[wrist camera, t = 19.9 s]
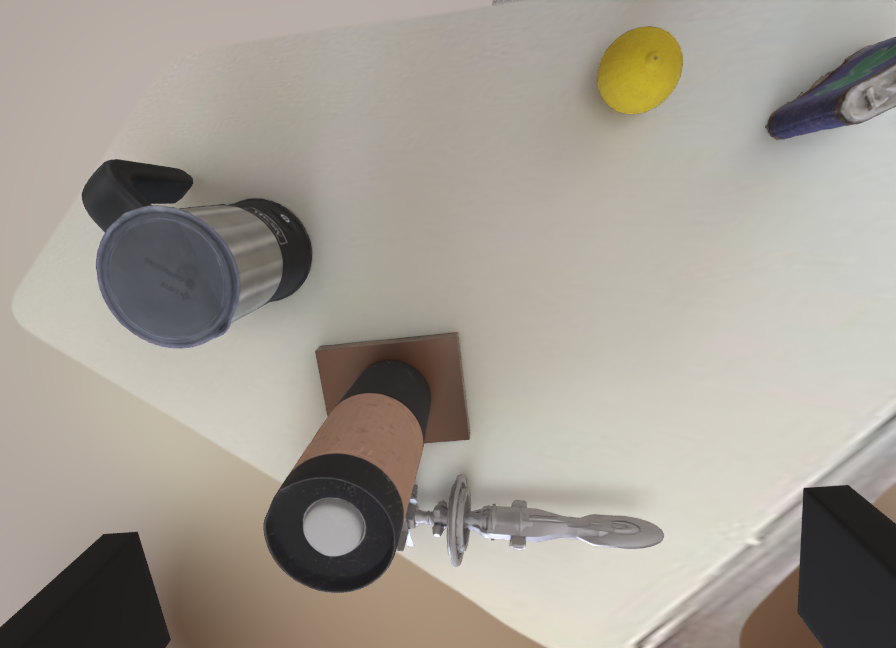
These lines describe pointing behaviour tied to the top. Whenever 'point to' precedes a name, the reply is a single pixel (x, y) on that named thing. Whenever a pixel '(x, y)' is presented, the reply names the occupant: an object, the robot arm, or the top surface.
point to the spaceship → (521, 525)
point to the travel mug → (353, 483)
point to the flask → (842, 94)
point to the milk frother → (188, 254)
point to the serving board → (424, 353)
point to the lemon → (640, 70)
